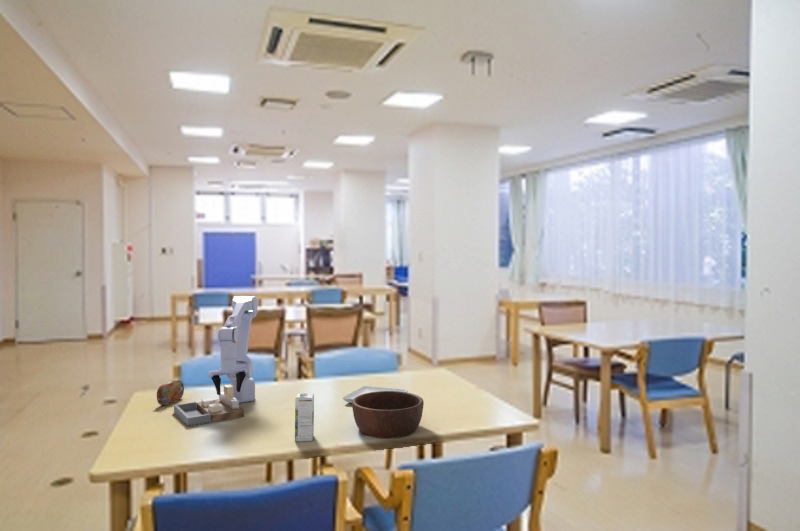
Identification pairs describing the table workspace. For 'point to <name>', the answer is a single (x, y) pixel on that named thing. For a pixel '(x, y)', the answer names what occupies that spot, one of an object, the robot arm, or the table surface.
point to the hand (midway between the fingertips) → (228, 392)
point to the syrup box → (304, 417)
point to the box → (191, 414)
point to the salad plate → (368, 389)
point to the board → (221, 412)
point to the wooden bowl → (387, 413)
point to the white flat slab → (229, 397)
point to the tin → (170, 392)
